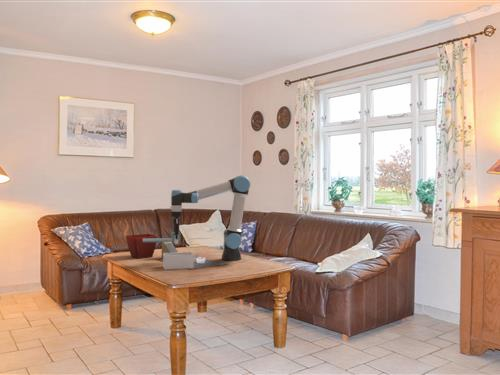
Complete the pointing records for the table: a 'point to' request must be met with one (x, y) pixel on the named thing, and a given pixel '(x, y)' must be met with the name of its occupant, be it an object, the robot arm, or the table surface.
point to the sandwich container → (168, 248)
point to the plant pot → (141, 245)
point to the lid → (162, 239)
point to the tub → (178, 260)
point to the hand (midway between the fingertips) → (176, 243)
